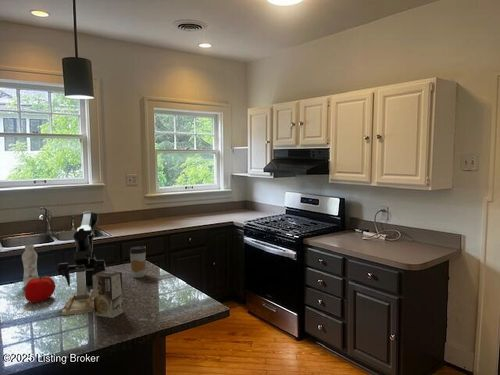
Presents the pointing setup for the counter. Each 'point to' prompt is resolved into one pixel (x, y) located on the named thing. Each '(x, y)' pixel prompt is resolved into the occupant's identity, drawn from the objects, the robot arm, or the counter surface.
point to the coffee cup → (138, 261)
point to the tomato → (39, 289)
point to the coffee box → (108, 294)
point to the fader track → (79, 304)
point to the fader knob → (81, 283)
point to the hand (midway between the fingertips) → (80, 285)
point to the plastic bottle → (29, 263)
